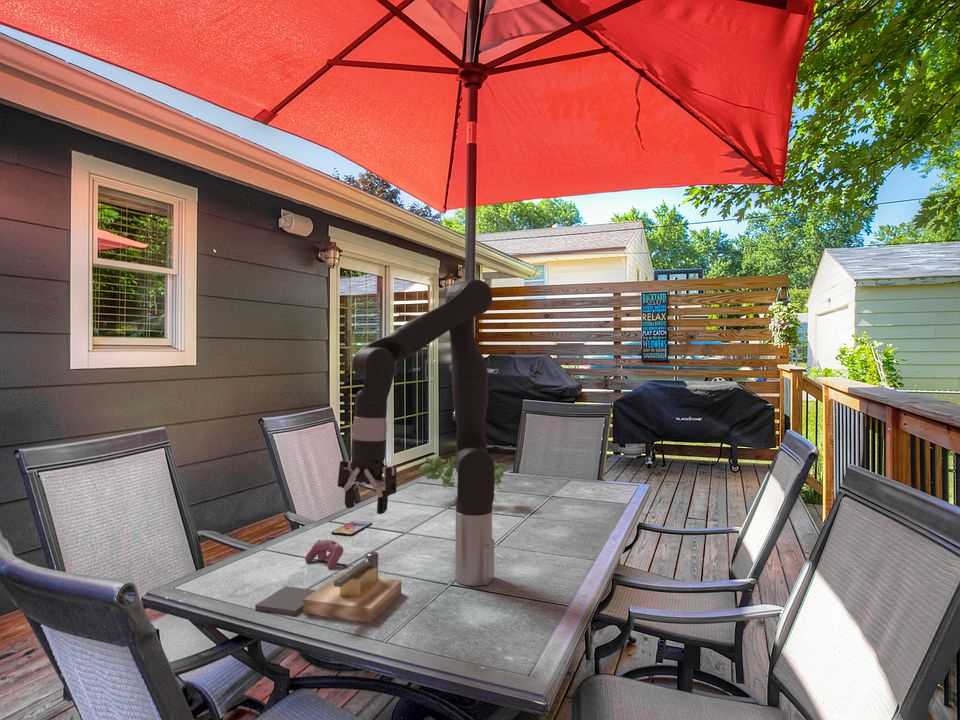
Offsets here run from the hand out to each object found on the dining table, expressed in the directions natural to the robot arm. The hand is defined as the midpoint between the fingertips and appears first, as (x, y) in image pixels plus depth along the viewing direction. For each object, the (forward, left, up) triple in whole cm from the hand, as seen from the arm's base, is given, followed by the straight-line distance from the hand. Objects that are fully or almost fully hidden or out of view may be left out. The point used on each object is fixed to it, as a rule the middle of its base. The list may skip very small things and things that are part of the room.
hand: (365, 510), depth 125 cm
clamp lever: (+3, -1, -18) cm, 19 cm away
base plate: (+4, -2, -22) cm, 22 cm away
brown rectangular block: (+3, -2, -19) cm, 19 cm away
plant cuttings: (+7, -99, -22) cm, 101 cm away
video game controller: (+24, -23, -22) cm, 40 cm away
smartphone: (+32, -53, -22) cm, 66 cm away
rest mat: (+18, +2, -22) cm, 28 cm away
